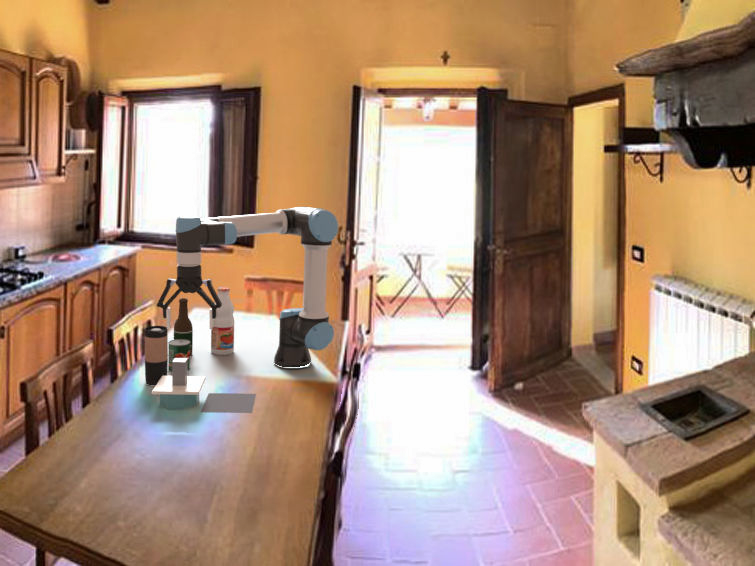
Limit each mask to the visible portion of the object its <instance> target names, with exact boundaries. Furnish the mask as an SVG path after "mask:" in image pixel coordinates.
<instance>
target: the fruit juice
mask: <svg viewBox="0 0 755 566" xmlns="http://www.w3.org/2000/svg"><path fill="white" fill-rule="evenodd" d="M230 291H231V290H230V288H229V287H228V286H219V287H217V295H218V297H219V299H220V301H221V303H222V306H221V307H220V308H217V309H216V318H215V319H213V328H212V329H210V334H211V335H210V351H211V353H212V354H214V355H216V356H217V355H218V356H227V354H228V355H231V354H233V353H234V351H235V350H234V349H235V318H234V312H235V306H234V304H233V302H232V300H231V297H230ZM214 303H215V302H214ZM215 304H216V303H215ZM232 352H233V353H232ZM230 353H231V354H230Z"/></svg>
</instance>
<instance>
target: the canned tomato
mask: <svg viewBox="0 0 755 566" xmlns="http://www.w3.org/2000/svg"><path fill="white" fill-rule="evenodd" d="M175 358H188V372H189V371H190V370H191V357H190V341H189V340H185V339H175V340H174V339H173V340H169V341H168V366H167V372H170V373H172V362H173V360H174V359H175Z"/></svg>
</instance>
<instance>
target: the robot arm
mask: <svg viewBox="0 0 755 566" xmlns="http://www.w3.org/2000/svg"><path fill="white" fill-rule="evenodd" d="M338 232H339V222H338V219H337V217H336V216H335V215H334V214H333V212H332V211H329V210H326V209H324V208H320V207H319V208H317V207H308V206H298V207H297V206H296V207H292V208H291V207H290V208H284V209H277V210H276V211H275V212H270V213H269V212H268V213H257V214H256V213H255V214H254V213H253V214H243V215H231V216H217V217H205V218H203V217H199V216H193V215H191V216H190V215H184V216H183V215H182V216H178V217H177V218H176V222H175V237H176V238H175V240H176V241H175V242H176V243H175V244H176V264H177V265H176V275H177V276H176V279H174V278H172V277H170V278H168V279H167V280H166V282H165V283H166V286H165V287H164V290H163V291H162V294H161V295H160V297H159V300H158V301H157V303H156V307H157V308H161V309H162V316H163V319H165V320H166V327H167V329H168V330H169V329H170V328H171V327H172V325H171V324H172V323H171V321H172V319H171V318H172V317H171V307H170V304H172V302H173V301H174V300H175V299H176V298H177V297H178V296H179V295H180V294H181V292H182V293H184V294H188V293H190V294H195V293H197V294H198V295H199V296H200V297H201V299H203V300H204V301H205V303H206V304H207V305H208V306H209V307H210V308H209V330H211V329H212V328H213V319H215V318H216V309H217V308H220V307H221V306H222V303H221V301H220V299H219V297H218V292H216V290H215V288H214V285H213V282H212V278H208V279H203V278H202V265H201V264H202V246H204V247H205V246H222V245H223V246H226V245H233V244H235V242H236V241H237V239H238V237H244V236H245V237H247V236H254V235H255V236H257V235H266V234H276V233H277V234H279V235H291V236H298V237H300V245H301V246H302V247H303V248H304V260H303V261H304V263H303V265H304V266H303V289H302V290H303V293H302V295H303V297H302V298H303V299H302V307H301V308H300V307H298V308H297V307H296V308H295V307H293V308H285V309H283V310H281V311H280V314H279V315H280V316H279V337H278V338H279V339H278V340H279V341H278V347H277V349H276V353H275V355H274V358H273V364H274V363H275V364H277V365H279V366H282V367H300V366H305V365H307V364H309V363H310V362H311V363H312V356H311V353H310V350H313V351H321V350H324V349H326V348H327V347H328V346H329V344H331V343H332V341H333V339H334V335H335V329H334V327H333V325H332V324H331V323H329V321H330V314H329V312H327V310H326V300H327V299H326V297H327V296H326V295H327V275H328V274H327V271H328V268H327V267H328V249H330V247H331V246H332V243H333V240H334V239H336V236H337V235H338ZM174 285H176V286H177V287H178V289H176V291H175V292H174V294H172V295H171V296H170V298H169V299H168V300H167V301H166V302H165V303H164V301H165V299H166V297H167V295H168V294H169V291H170V290H171V288H172V287H173V286H174ZM203 285H204V286H205V287H207V289H208V292H209V293H210V295H211V297H212V298H213V300H214V301H213V300H212V299H211V297H209V295H207V293H206V292H205V291H204V289H203V288H202V286H203ZM215 303H216V304H215ZM275 364H274V365H275Z"/></svg>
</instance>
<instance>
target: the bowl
mask: <svg viewBox="0 0 755 566" xmlns="http://www.w3.org/2000/svg"><path fill="white" fill-rule="evenodd" d="M158 395H159V406H161V407H163V408H165V409H167V410H185V409H188V408H191V407H192V408H193V407H195V406H197V405H198V403H199V401H200V393H199V394H198V395H181V394H158Z"/></svg>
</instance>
